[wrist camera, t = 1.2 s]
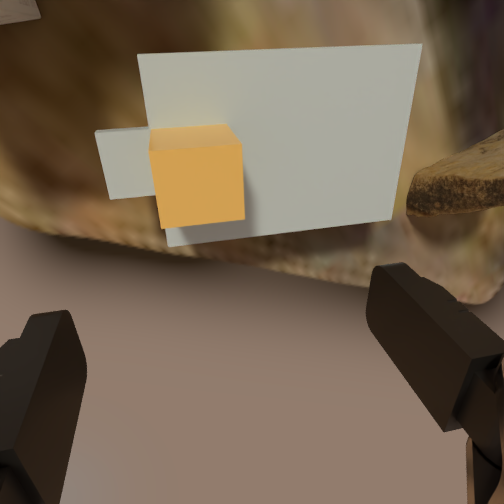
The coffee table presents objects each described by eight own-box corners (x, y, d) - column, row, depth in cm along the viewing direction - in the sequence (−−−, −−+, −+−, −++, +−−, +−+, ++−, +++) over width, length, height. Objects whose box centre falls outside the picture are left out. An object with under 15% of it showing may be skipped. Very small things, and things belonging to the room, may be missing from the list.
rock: (552, 95, 31) (460, 101, 28) (616, 180, 28) (519, 197, 25) (461, 173, 40) (384, 183, 38) (500, 242, 38) (421, 260, 35)
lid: (403, 43, 24) (484, 44, 18) (377, 209, 30) (432, 251, 24) (83, 55, 21) (51, 61, 15) (125, 239, 26) (114, 296, 20)
